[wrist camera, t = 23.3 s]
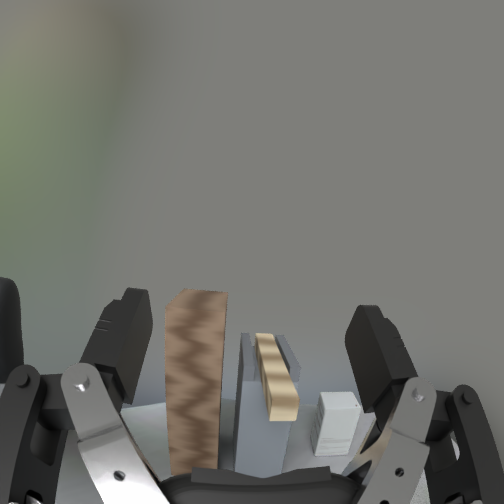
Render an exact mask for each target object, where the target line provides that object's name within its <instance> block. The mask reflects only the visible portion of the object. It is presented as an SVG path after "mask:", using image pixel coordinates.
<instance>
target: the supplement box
mask: <svg viewBox="0 0 504 504" xmlns="http://www.w3.org/2000/svg"><path fill="white" fill-rule="evenodd" d="M360 412H361V407H360V405H359V403H358V402H357V400H356V398H355V396H354V394H353V392H320V395H319V401H318V405H317V410H316V415H315V420H314V424H313V428H312V433H311V441H312V446H313V451H314V456H336V455H347V454H348V451H349V448H350V445H351V442H352V439H353V436H354V432H355V429H356V426H357V422H358V419H359V415H360Z"/></svg>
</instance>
